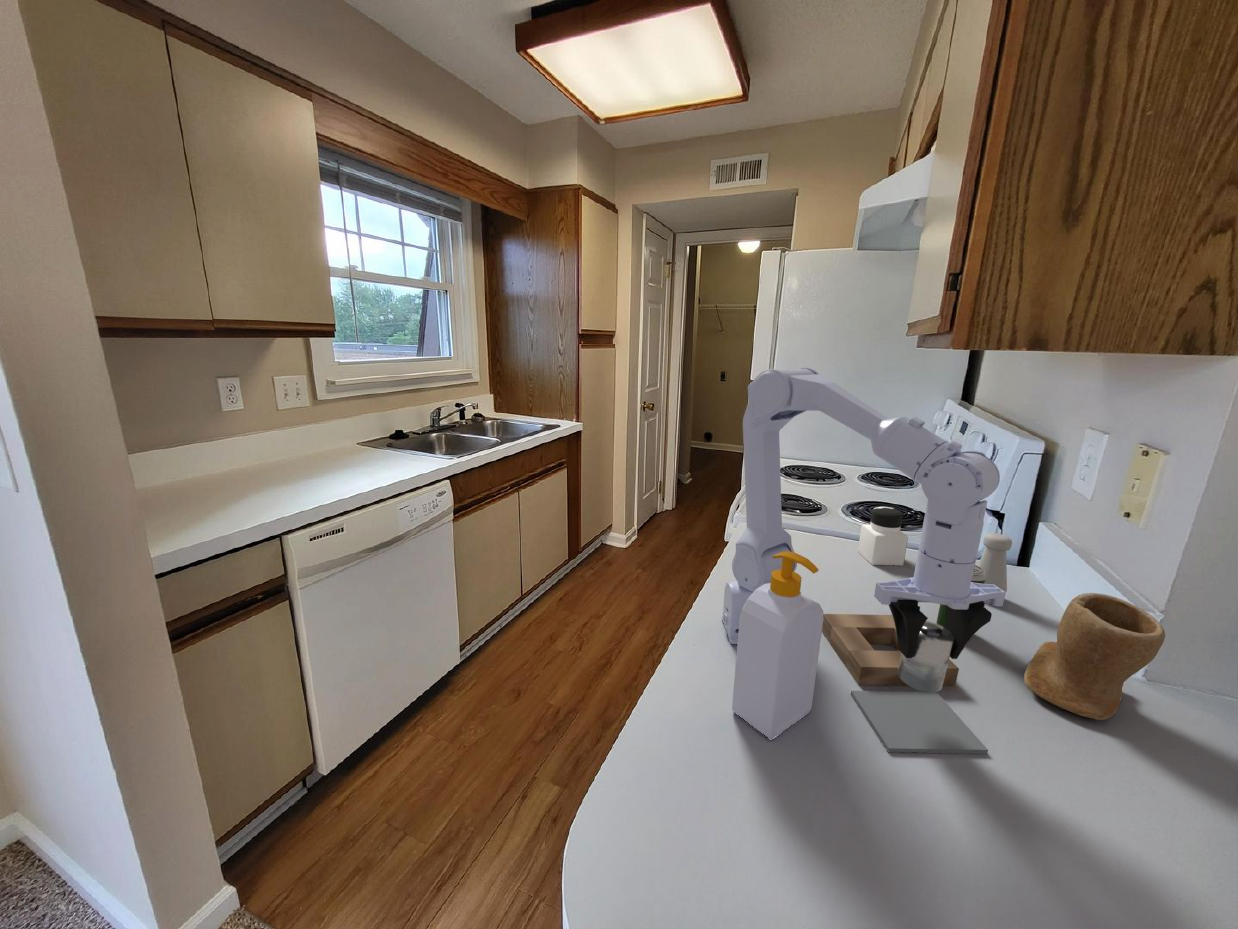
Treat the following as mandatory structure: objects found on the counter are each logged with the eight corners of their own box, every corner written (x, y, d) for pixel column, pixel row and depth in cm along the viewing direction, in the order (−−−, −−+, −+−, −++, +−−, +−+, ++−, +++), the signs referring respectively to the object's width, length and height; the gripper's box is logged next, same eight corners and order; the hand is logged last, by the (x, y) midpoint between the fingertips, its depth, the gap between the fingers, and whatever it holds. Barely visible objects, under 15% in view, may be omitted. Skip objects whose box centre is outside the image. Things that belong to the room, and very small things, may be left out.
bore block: (858, 685, 71) (861, 667, 70) (820, 629, 85) (822, 613, 84) (955, 686, 71) (959, 668, 70) (901, 630, 85) (904, 615, 84)
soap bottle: (775, 747, 60) (794, 575, 54) (730, 713, 65) (744, 553, 60) (816, 715, 65) (838, 555, 60) (772, 686, 71) (788, 537, 65)
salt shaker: (992, 591, 99) (1005, 530, 96) (1011, 606, 93) (1026, 542, 90) (961, 589, 99) (973, 529, 96) (978, 604, 94) (992, 540, 91)
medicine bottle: (904, 566, 109) (912, 515, 106) (871, 565, 109) (879, 514, 106) (887, 552, 116) (895, 504, 113) (857, 552, 116) (864, 503, 113)
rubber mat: (887, 752, 59) (888, 748, 59) (850, 694, 69) (851, 690, 69) (987, 754, 59) (988, 750, 59) (935, 695, 69) (936, 692, 69)
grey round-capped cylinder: (909, 691, 61) (920, 639, 59) (890, 664, 66) (900, 615, 64) (950, 693, 61) (963, 641, 59) (929, 666, 66) (940, 617, 63)
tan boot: (1129, 746, 61) (1164, 640, 57) (1011, 693, 70) (1035, 598, 66) (1146, 694, 70) (1177, 600, 66) (1040, 653, 79) (1062, 568, 75)
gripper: (904, 567, 55) (885, 673, 58) (1035, 570, 55) (1009, 675, 58) (872, 542, 61) (858, 638, 65) (989, 544, 61) (968, 640, 65)
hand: (927, 653), depth 62 cm, fingers closed on grey round-capped cylinder, 5 cm apart
